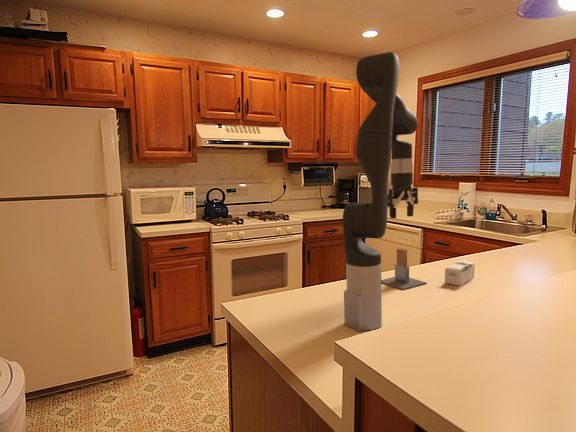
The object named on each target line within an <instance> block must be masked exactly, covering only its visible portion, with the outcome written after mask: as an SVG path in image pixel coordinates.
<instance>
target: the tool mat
mask: <svg viewBox="0 0 576 432" xmlns="http://www.w3.org/2000/svg"><path fill="white" fill-rule="evenodd" d="M381 284H383V285H386V286H389V287H392V288H395V289H398V290H401V291H405V290H409V289H412V288H416V287H420V286H423V285H426V284H427V282H426V281H423V280H420V279H415V278H412V277H409V283H406V284H405V283H401V282H398V281H395V276H392V277H389V278H385V279H384V278H383V279H381Z"/></svg>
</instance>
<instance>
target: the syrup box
mask: <svg viewBox="0 0 576 432" xmlns="http://www.w3.org/2000/svg"><path fill="white" fill-rule="evenodd" d="M474 277H475V262H471V261H465V260H464V261H463V260H458V261H456V262H454V263H452V264H450V265H449V266H446V267H445V268H444V284H448V285H452V286H458V287H462V286H463V285H464V284H465V283H467V282H468V281H470V280H471V279H473V278H474Z"/></svg>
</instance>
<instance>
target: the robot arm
mask: <svg viewBox="0 0 576 432" xmlns="http://www.w3.org/2000/svg"><path fill="white" fill-rule="evenodd" d="M355 73H356V74H355V76H356V79H357V83H358V85H359V87H360V89H361V90H362V91H363V92H364V93H365V94H366V95H367V96H368V97H369V99H370V100H372V101H373V102H374V106H373V108H372V109H371V111H370V112H369V113H368V115H367V116H366V117H365V119H364V120H363V122H362V123H361V124H360V126H359V129H358V131H357V137H356V147H355V156H356V159H357V162H358V164H359V166H360V169H362V171H363V172H364V175H365V176H366V179H367V180H368V183H369V186H370V189H371V196H372V198H371V199H372V200H371V202H350V203H347V205H345V207H344V210H343V212H342V231H343V233H342V234H343V244H344V245H343V246H344V255H345V268H346V269H345V270H346V272H345V273H346V274H345V277H346V289H345V290H343V309H344V311H343V314H344V315H343V318H344V325H345V326H348V327H349V328H351V329H354V330H356V331H358V332H361V331H362V332H363V331H375V330H378V329H379V328H381V327H382V325H383V322H382V319H383V317H382V316H383V315H382V312H383V309H382V299H383V298H382V283H381V280H382V255H381V254H382V253H381V251H379V250H378V249H375V248H373V247H371V246H369V245H368V244H366V243H365V242H364V241H363V240H362V238H364V239H381V238H383V236H385V233H386V230H387V224H388V209H389V218H390V219H397V208H396V207H397V206H398V204H399V203H400V202H401V201H404V202H405V203H406V205H407V206H406V216H407V217H413V216H414V211H415V210H414V207H415V205H417V204H418V203H419V191H418V190H419V189H418V187H413V184H414V183H413V182H414V181H413V180H414V177H413V176H414V169H413V168H414V164H413V144H412V143H411V142H409V141H403V140H400V139H399V137H398V136H406V135H412V134H414V133H416V131H417V130H418V126H419V122H418V118H417V116H416V114H415V113H414V112H413V111H412V110H410V109H409V108H408V107H406V105H405V104H406V103H404V100H403V99H402V97H401V96H400V95H399V94H398V93H397V92H398V91H397V90H398V84H399V76H400V60H399V57H398V55H397V53H396V52H392V51H387V52H382V53H378V54H372V55H367V56H364V57H362V58H360V59H359V60H358V61H357V64H356V69H355ZM390 160H391V162H390ZM389 170H390V186H392V187H391V188H388V184H389V183H388V181H389ZM377 328H378V329H377ZM374 329H375V330H374Z"/></svg>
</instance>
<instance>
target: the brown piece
mask: <svg viewBox="0 0 576 432" xmlns="http://www.w3.org/2000/svg"><path fill="white" fill-rule="evenodd" d="M394 277H395V281H398V282H401V283H405V284H406V283H409V278H410V266H408V249H405V248H397V249H396V264H394Z"/></svg>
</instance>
